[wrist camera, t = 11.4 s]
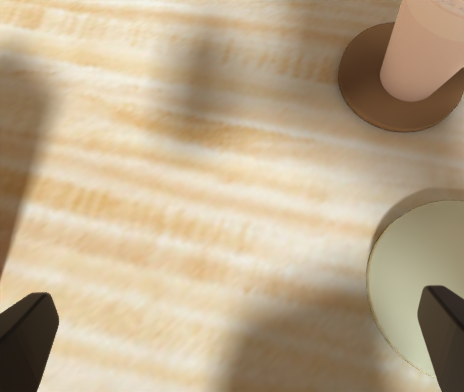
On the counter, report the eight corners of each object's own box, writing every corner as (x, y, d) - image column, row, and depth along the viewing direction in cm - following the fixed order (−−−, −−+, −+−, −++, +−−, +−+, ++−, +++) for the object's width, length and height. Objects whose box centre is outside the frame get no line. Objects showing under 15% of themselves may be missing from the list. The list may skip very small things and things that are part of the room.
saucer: (587, 344, 21) (604, 345, 20) (419, 415, 20) (427, 420, 19) (487, 181, 24) (496, 175, 23) (337, 239, 23) (340, 237, 22)
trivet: (484, 106, 25) (489, 101, 24) (371, 149, 25) (374, 145, 24) (423, 13, 27) (426, 7, 27) (319, 51, 27) (320, 45, 26)
